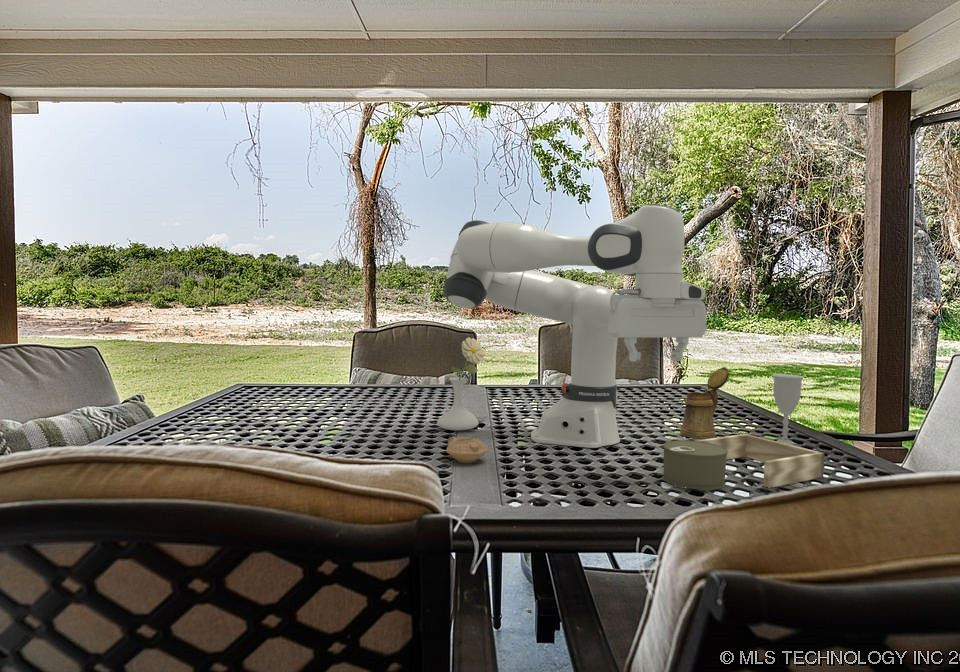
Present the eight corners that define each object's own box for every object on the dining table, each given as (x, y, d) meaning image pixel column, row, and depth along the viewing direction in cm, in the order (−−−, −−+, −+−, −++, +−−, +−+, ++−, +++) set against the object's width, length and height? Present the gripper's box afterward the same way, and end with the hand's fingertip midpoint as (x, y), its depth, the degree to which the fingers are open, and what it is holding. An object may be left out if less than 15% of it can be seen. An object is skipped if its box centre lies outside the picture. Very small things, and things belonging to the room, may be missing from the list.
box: (767, 488, 115) (769, 462, 115) (691, 463, 132) (692, 441, 132) (823, 477, 123) (824, 453, 123) (744, 455, 140) (745, 433, 140)
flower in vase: (445, 435, 156) (446, 339, 155) (431, 426, 167) (431, 336, 165) (491, 431, 161) (492, 338, 160) (474, 423, 172) (475, 335, 170)
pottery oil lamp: (467, 448, 141) (481, 424, 139) (480, 479, 130) (495, 453, 129) (434, 438, 138) (448, 413, 136) (445, 469, 127) (460, 442, 125)
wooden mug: (736, 436, 160) (739, 368, 159) (697, 440, 154) (699, 370, 153) (711, 429, 168) (713, 365, 167) (672, 433, 163) (675, 366, 161)
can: (739, 487, 116) (741, 452, 115) (688, 493, 112) (689, 457, 111) (697, 470, 127) (699, 438, 127) (649, 475, 123) (650, 442, 123)
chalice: (804, 454, 142) (808, 378, 140) (773, 452, 143) (776, 377, 142) (794, 447, 149) (798, 374, 148) (765, 445, 150) (768, 373, 149)
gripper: (620, 287, 110) (617, 363, 110) (712, 290, 116) (709, 361, 117) (602, 288, 116) (600, 360, 116) (691, 290, 122) (688, 358, 123)
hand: (655, 361), depth 117 cm, fingers open, 8 cm apart
